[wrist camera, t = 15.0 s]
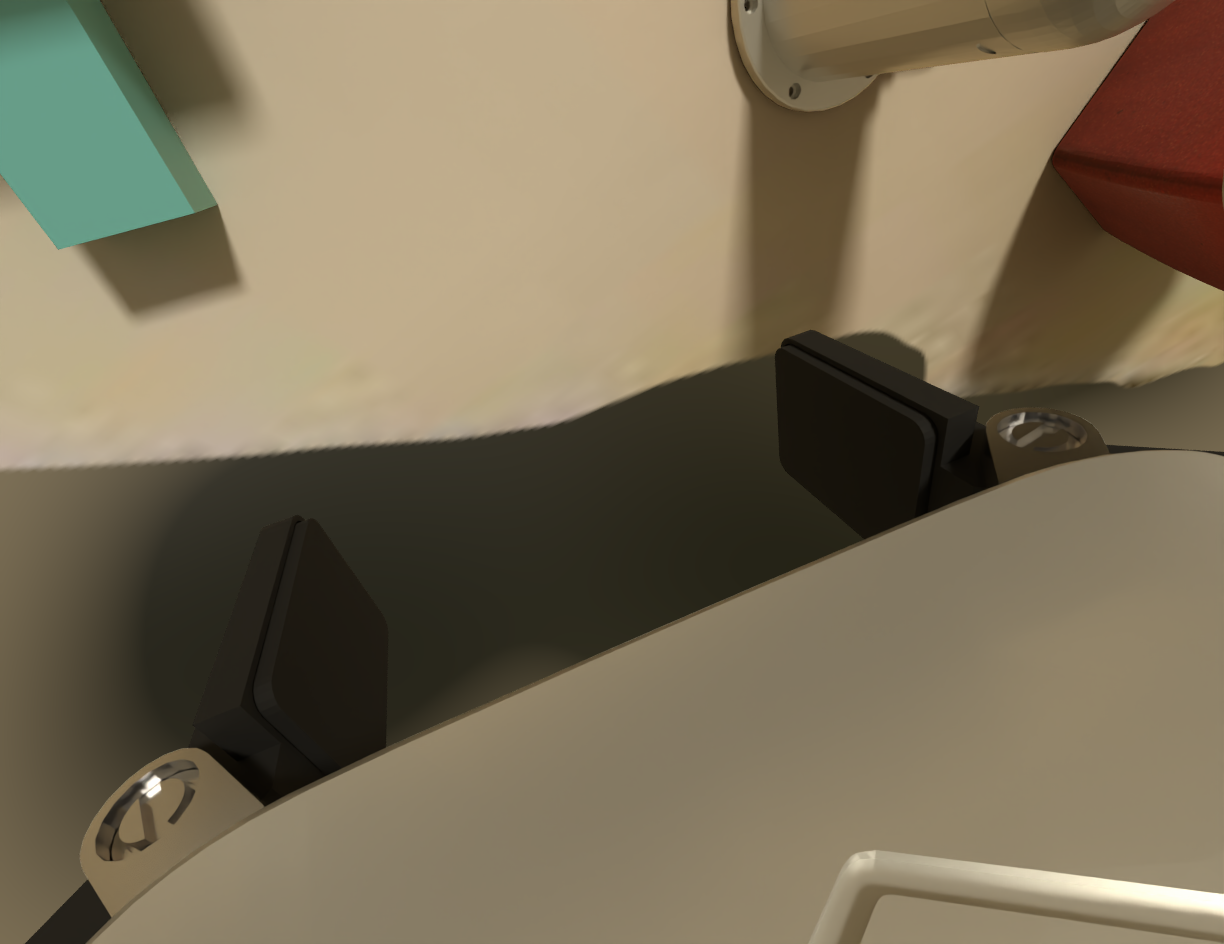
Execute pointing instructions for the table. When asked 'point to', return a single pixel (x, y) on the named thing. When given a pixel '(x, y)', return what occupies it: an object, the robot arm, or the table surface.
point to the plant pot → (1159, 143)
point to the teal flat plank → (86, 127)
